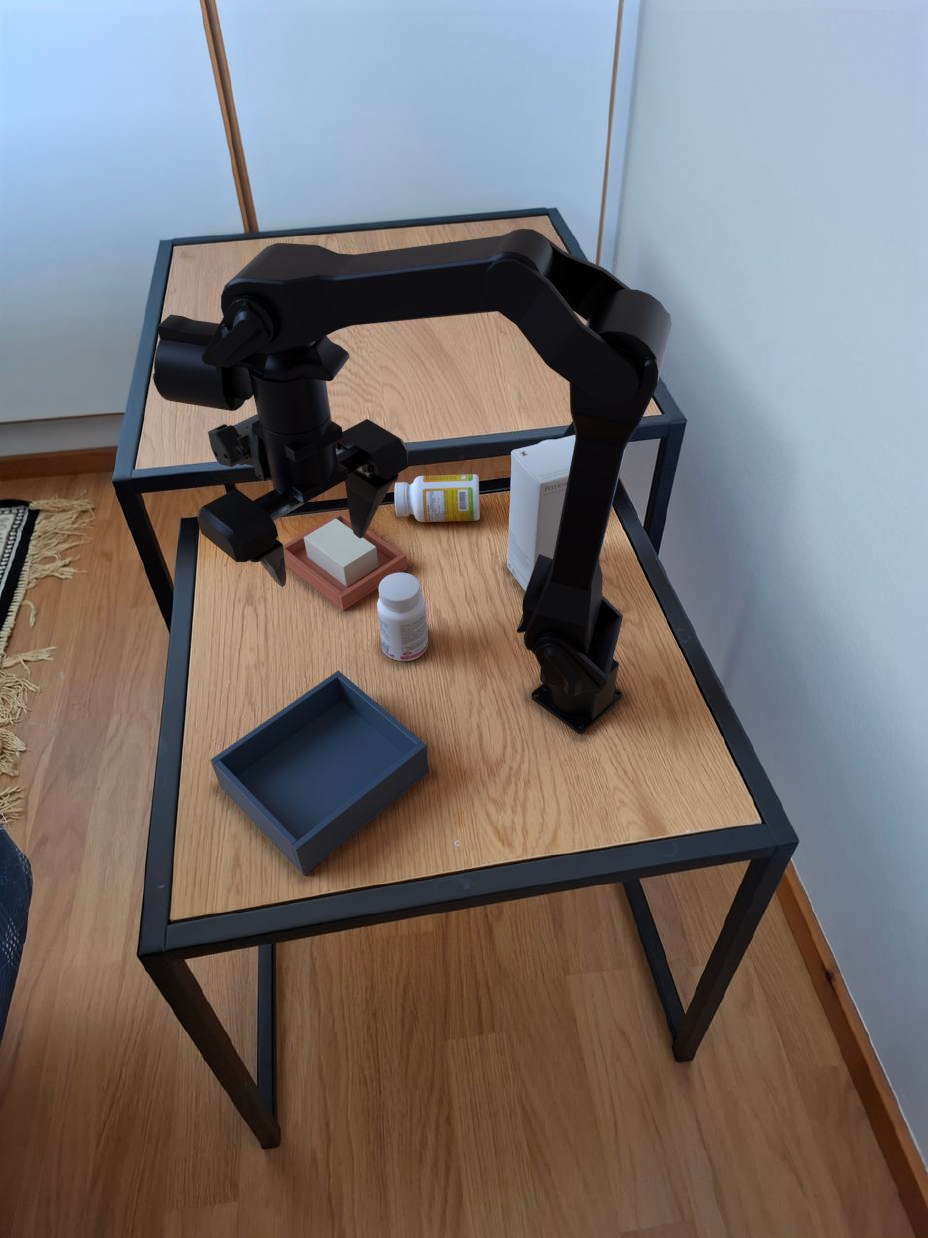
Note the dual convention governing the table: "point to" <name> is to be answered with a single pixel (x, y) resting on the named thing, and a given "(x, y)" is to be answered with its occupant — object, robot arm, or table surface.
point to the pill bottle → (402, 617)
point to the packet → (341, 552)
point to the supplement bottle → (439, 498)
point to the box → (321, 769)
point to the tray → (331, 587)
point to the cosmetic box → (536, 503)
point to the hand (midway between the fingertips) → (320, 559)
